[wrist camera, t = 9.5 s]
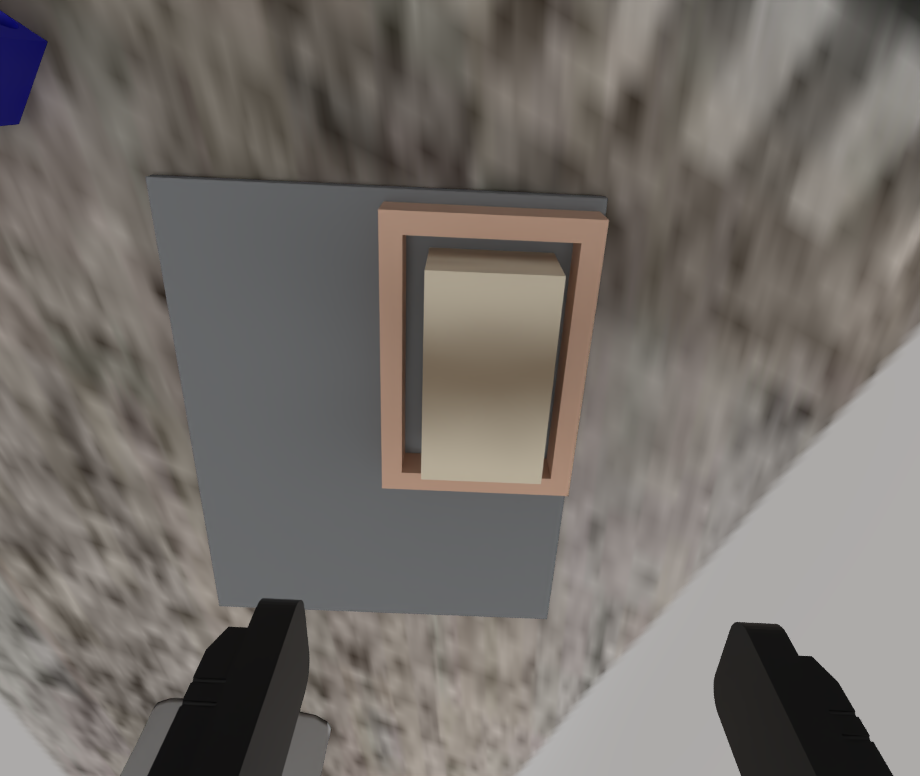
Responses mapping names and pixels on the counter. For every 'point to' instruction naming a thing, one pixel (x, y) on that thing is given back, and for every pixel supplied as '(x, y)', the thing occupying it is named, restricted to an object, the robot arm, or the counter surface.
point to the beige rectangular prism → (488, 363)
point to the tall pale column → (301, 757)
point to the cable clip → (17, 67)
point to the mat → (331, 403)
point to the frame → (575, 344)
